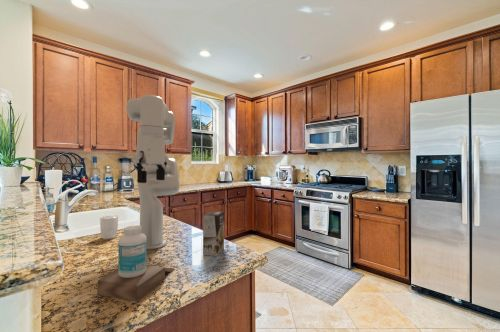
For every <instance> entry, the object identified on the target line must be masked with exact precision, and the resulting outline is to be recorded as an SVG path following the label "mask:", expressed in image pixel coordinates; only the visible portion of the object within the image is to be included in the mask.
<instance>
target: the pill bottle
mask: <svg viewBox="0 0 500 332" xmlns="http://www.w3.org/2000/svg"><path fill="white" fill-rule="evenodd" d="M141 231H142V228H141V226H140V225H130V226H125V227H124V228H123V235H121V236H120V237H119V238H118V242H117V243H118V246H117V247H118V248H117V249H118V251H117V252H118V259H117V260H118V269H119V276H120V277H122V278H134V277H137V276H140V275H142V274H143V273H145V271H146V268H147V263H148V262H147V260H148V259H147V255H148V254H147V250H146V242H147V240H146V236H145V235H144V234H143V233H141Z"/></svg>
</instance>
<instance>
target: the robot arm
mask: <svg viewBox="0 0 500 332" xmlns="http://www.w3.org/2000/svg"><path fill="white" fill-rule="evenodd" d="M125 108H126V115H127V116H128V119H129V120H130V121H132V122H135V123H139V129H138V130H137V133H136V137H137V142H136V149H135V155H134V156H132V158H131V160H132V162H133V166H134V168H135V171H136V172H137V173H136V174H137V178H136V179H137V180H136V181H137V189H138V195H139V226H141V228H142V231H141V233H143V234H144V235H145V236H146V240H147V242H146V251H148V250H155V249H160V248H163V247H164V246H166V245H167V240H166V239H165V238H164V233H163V231H164V205H163V203H162V201H161V200H160V199H159V198H158V197H159V196H174V195H177V194H178V193H179V191H180V177H179V166H178V162H177V160H176V159H175V158H171V157H168V156H167V155H166V148H165V146H166V145H167V146H168V145H172V144H173V143H174V139H175V130H176V118H175V114H174V113H173V112H172V111H171V110H169V107H168V106H167V104H166V103H165V102H164V99H163V98H162V97H160V96H158V95H154V94H153V95H152V94H145V95H141V97H140V98H136V97H135V98H130V99H128V101H127V103H126V106H125Z"/></svg>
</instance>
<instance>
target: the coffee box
mask: <svg viewBox="0 0 500 332" xmlns="http://www.w3.org/2000/svg"><path fill="white" fill-rule="evenodd" d="M202 217H203V219H202V221H203V222H202V225H203V227H202V228H203V229H202V255H203V256H204V255H205V256H213V257H214V256H215V257H217V256H219V254H221V253H222V251H223V250H224V249H225V211H223V210H222V211H220V210H219V211H218V210H217V211H216V210H215V211H213V210H211V211H209V212H207V213H205V214H203V216H202Z"/></svg>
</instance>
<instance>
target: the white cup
mask: <svg viewBox="0 0 500 332" xmlns="http://www.w3.org/2000/svg"><path fill="white" fill-rule="evenodd" d="M99 227H100V235H101V236H100V237H101V239H103V240H110V239H114V238H116V237H118V230H119V229H118V228H119V216H118V215H114V214H113V215H104V216H100V217H99Z"/></svg>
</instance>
